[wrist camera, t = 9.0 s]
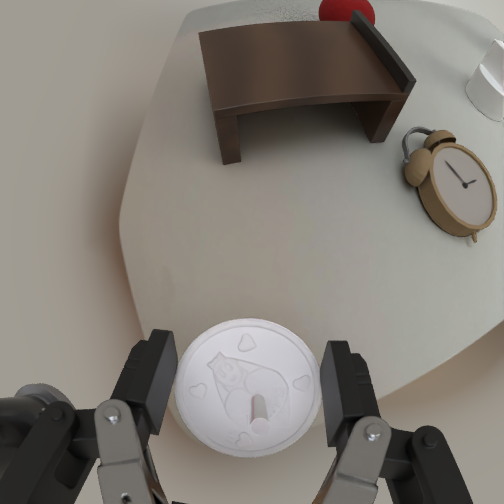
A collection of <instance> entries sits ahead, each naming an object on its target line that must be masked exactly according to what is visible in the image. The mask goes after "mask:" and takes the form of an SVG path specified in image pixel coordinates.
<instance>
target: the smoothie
mask: <svg viewBox="0 0 504 504" xmlns="http://www.w3.org/2000/svg"><path fill="white" fill-rule="evenodd" d="M321 398H322V391H321V383H320V370H319V366H318V364H317V361H316V359H315V357H314V355H313V354H312V352H311V351H310V349H309V348H308V347H307V345H306V344H305V343H304V342H303V341H302V340H301V339H300V338H299V337H298V336H297V335H295V334H294V333H293V332H291V331H290V330H288V329H286V328H285V327H283V326H281V325H278V324H276V323H273V322H270V321H267V320H261V319H251V318H243V319H235V320H230V321H226V322H223V323H220V324H218V325H216V326H214V327H211V328H210V329H208V330H206V331H205V332H204V333H202V334H201V335H200V336H198V337H197V338H196V339H195V340H194V341H193V342H192V343H191V344H190V346H189V347H188V348H187V350H186V351H185V353H184V354H183V356H182V358H181V360H180V362H179V365H178V368H177V372H176V376H175V399H176V404H177V407H178V410H179V413H180V415H181V417H182V419H183V421H184V423H185V424H186V426H187V427H188V428H189V430H190V431H191V432H192V433H193V434H194V435H195V436H196V437H197V438H198V439H199V440H200V441H201V442H203V443H204V444H206V445H207V446H209V447H210V448H212V449H214V450H216V451H219V452H221V453H224V454H227V455H231V456H235V457H245V458H253V457H262V456H267V455H271V454H274V453H276V452H279V451H281V450H283V449H285V448H287V447H288V446H290V445H292V444H293V443H294V442H296V441H297V440H298V439H299V438H301V436H302V435H303V434H304V433H305V432H306V431H307V430H308V429H309V427H310V426H311V424H312V423H313V421H314V419H315V417H316V415H317V413H318V410H319V407H320V403H321Z"/></svg>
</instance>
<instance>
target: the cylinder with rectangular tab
mask: <svg viewBox="0 0 504 504" xmlns="http://www.w3.org/2000/svg"><path fill="white" fill-rule="evenodd" d="M465 89H466V93H467V95H468V97H469V99H470V100H471V102H472V103H473V104H474V105H475V107H476V108H477V109H478V110H479V111H480V112H481V113H483V114H484V115H485V116H487V117H488V118H490V119H492V120H494V121H502V120H503V118H504V42H502V41H500V40H495V41H494V43H493V44H492V46H491V48H490V49H489V51H488V52H487V54H486V56H485V57H484V59H483V61H482V62H481V63H480V64H479V66H478V68H477V69H476V71H475V72H474V74H473V75H472V77H471V79H470V80H469V82H468V83H467V85H466V88H465Z"/></svg>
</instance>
